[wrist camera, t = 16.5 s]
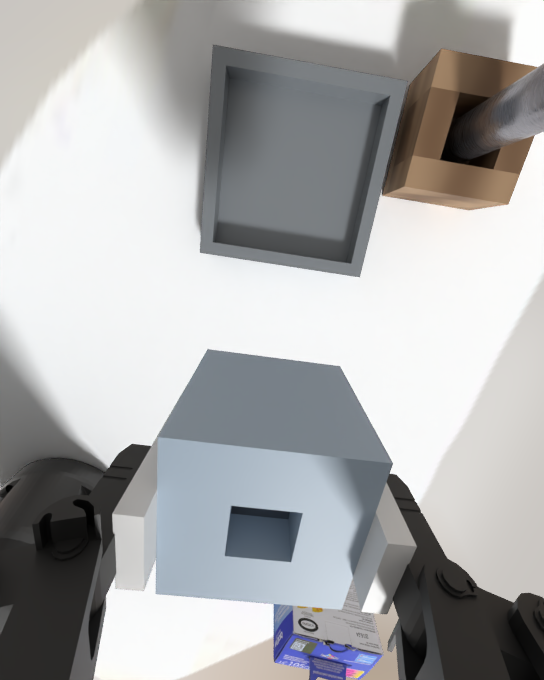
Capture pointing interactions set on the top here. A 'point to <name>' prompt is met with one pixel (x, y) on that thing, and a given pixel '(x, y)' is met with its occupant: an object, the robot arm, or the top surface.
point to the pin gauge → (498, 120)
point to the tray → (295, 160)
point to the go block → (432, 128)
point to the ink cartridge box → (327, 639)
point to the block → (266, 483)
